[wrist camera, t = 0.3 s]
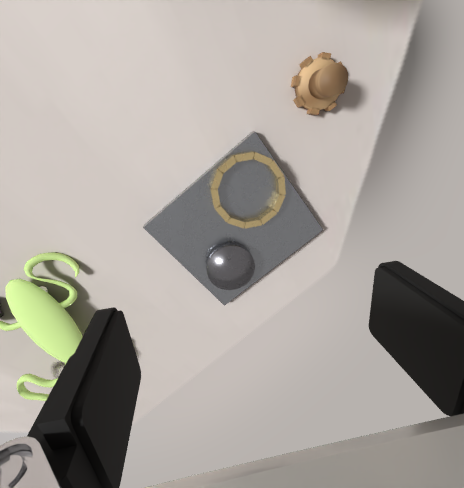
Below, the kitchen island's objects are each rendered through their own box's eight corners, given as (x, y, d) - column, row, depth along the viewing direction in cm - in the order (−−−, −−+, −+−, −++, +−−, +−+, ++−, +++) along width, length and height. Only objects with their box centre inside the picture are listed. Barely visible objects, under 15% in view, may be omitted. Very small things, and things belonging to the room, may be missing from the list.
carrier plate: (144, 224, 44) (141, 231, 41) (252, 131, 41) (258, 131, 38) (223, 300, 51) (225, 312, 48) (319, 227, 48) (328, 233, 45)
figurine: (49, 390, 54) (34, 418, 49) (-44, 279, 43) (-75, 299, 38) (139, 360, 54) (134, 384, 49) (69, 242, 43) (53, 257, 38)
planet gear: (281, 80, 39) (295, 72, 34) (324, 42, 38) (345, 28, 33) (308, 125, 42) (324, 124, 37) (349, 91, 41) (372, 85, 36)
